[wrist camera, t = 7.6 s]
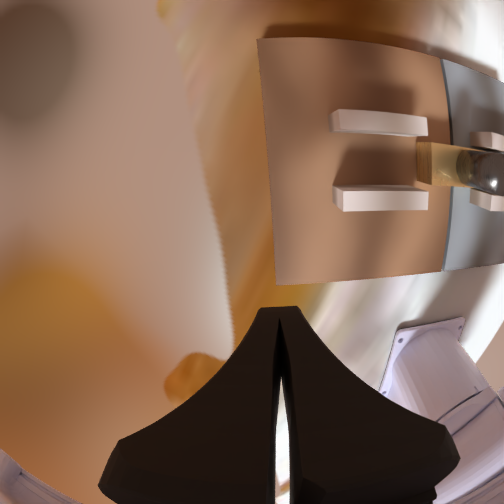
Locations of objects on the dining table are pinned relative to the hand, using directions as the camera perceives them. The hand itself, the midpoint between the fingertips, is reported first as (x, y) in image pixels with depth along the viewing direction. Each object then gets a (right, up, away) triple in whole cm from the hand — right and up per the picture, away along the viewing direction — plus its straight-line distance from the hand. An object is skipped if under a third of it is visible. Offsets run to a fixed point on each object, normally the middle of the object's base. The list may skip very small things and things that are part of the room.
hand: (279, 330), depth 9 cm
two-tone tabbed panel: (+10, +9, +6) cm, 15 cm away
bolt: (+13, +8, +4) cm, 16 cm away
